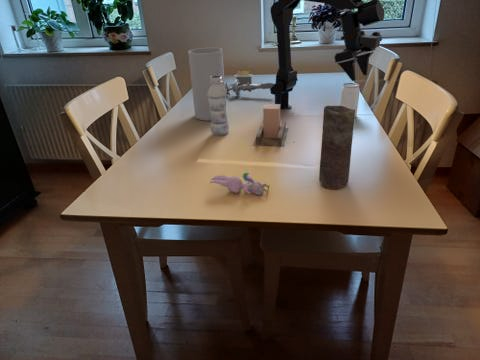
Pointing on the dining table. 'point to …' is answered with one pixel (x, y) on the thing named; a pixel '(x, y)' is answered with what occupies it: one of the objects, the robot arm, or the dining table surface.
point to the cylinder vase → (204, 77)
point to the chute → (272, 141)
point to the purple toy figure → (240, 184)
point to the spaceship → (246, 87)
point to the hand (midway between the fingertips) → (359, 77)
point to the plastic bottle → (218, 107)
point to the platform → (244, 77)
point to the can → (350, 96)
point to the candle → (336, 146)
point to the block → (271, 120)
